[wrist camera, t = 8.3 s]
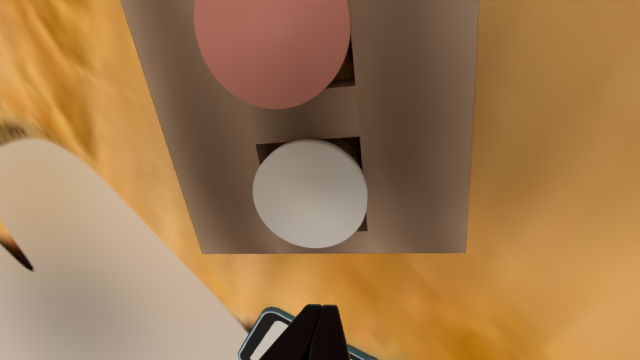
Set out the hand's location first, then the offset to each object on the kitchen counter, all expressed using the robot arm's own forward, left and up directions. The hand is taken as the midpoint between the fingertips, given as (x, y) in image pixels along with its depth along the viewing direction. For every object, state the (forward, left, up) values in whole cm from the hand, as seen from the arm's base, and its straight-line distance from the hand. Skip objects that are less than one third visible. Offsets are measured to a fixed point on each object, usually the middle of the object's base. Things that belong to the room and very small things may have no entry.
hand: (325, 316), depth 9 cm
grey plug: (+2, 0, -11) cm, 11 cm away
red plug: (+2, -7, -10) cm, 12 cm away
